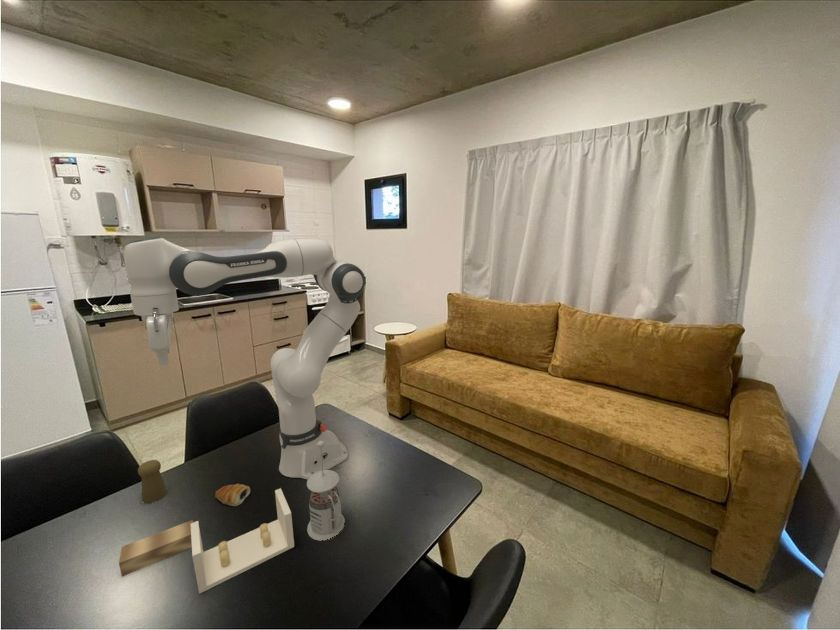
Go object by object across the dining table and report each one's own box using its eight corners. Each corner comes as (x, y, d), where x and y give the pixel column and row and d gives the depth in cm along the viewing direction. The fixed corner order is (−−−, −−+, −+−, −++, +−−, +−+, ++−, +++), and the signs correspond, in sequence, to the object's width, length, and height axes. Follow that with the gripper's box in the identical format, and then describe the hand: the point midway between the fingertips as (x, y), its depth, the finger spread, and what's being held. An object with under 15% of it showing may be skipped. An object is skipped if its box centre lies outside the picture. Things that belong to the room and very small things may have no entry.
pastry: (209, 503, 98) (207, 492, 97) (226, 487, 105) (225, 476, 104) (237, 508, 96) (236, 497, 95) (253, 491, 103) (252, 480, 102)
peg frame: (283, 519, 92) (280, 488, 90) (294, 546, 84) (291, 512, 82) (196, 558, 81) (190, 523, 79) (199, 593, 73) (192, 556, 71)
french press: (333, 504, 98) (328, 426, 92) (356, 529, 90) (352, 444, 84) (300, 524, 91) (293, 441, 85) (322, 552, 83) (315, 462, 77)
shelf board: (195, 532, 89) (192, 519, 88) (195, 546, 85) (193, 533, 84) (125, 560, 81) (121, 546, 80) (122, 577, 77) (118, 563, 76)
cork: (153, 505, 97) (147, 471, 95) (136, 501, 98) (129, 468, 96) (172, 490, 103) (166, 458, 100) (156, 487, 104) (149, 455, 102)
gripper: (171, 311, 77) (180, 368, 80) (172, 297, 93) (179, 346, 96) (135, 314, 73) (146, 374, 76) (142, 300, 89) (151, 350, 92)
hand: (164, 358), depth 86 cm, fingers open, 8 cm apart
